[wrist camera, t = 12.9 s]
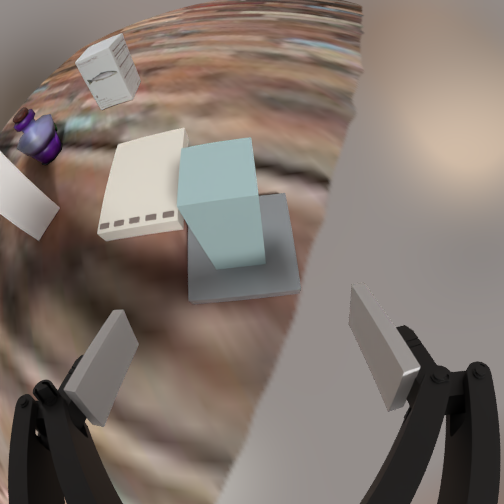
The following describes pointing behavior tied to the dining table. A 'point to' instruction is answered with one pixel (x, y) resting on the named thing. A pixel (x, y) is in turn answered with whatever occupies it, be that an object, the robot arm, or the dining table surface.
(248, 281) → the coaster
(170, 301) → the dining table surface
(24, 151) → the potion bottle
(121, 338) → the robot arm
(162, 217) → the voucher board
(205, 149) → the light blue tall block
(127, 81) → the supplement box
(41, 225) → the milk
